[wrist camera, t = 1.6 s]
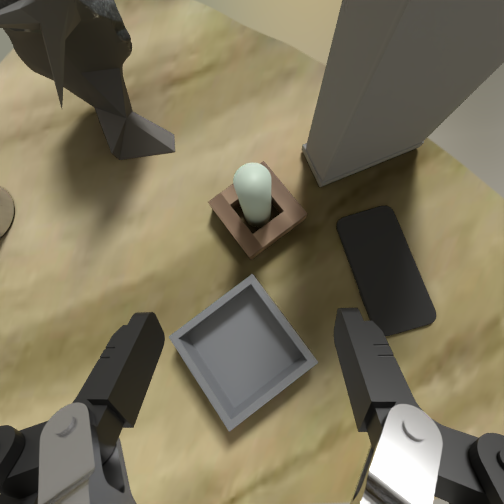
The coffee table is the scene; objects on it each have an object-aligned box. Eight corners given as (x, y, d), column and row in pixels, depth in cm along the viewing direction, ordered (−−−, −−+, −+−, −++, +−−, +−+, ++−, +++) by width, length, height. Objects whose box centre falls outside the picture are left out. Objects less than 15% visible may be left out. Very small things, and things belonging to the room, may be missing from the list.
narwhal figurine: (169, 59, 37) (77, -153, 19) (175, 151, 35) (75, 5, 17) (79, 74, 38) (-88, -116, 20) (79, 165, 35) (-114, 40, 18)
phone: (390, 202, 31) (440, 321, 28) (387, 205, 32) (435, 320, 29) (334, 219, 31) (378, 339, 28) (332, 221, 32) (375, 337, 29)
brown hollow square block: (250, 260, 31) (249, 257, 29) (212, 208, 33) (207, 202, 30) (304, 219, 32) (307, 213, 29) (264, 170, 33) (263, 161, 31)
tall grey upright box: (395, 110, 33) (757, -411, 9) (417, 148, 32) (902, -321, 7) (300, 149, 33) (386, -253, 9) (319, 188, 32) (477, -144, 8)
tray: (234, 414, 29) (229, 431, 25) (180, 331, 31) (168, 336, 27) (312, 354, 29) (318, 362, 26) (254, 275, 31) (252, 273, 28)
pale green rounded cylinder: (255, 232, 32) (248, 206, 22) (239, 211, 32) (225, 177, 23) (276, 216, 32) (279, 183, 22) (260, 196, 33) (256, 155, 23)
